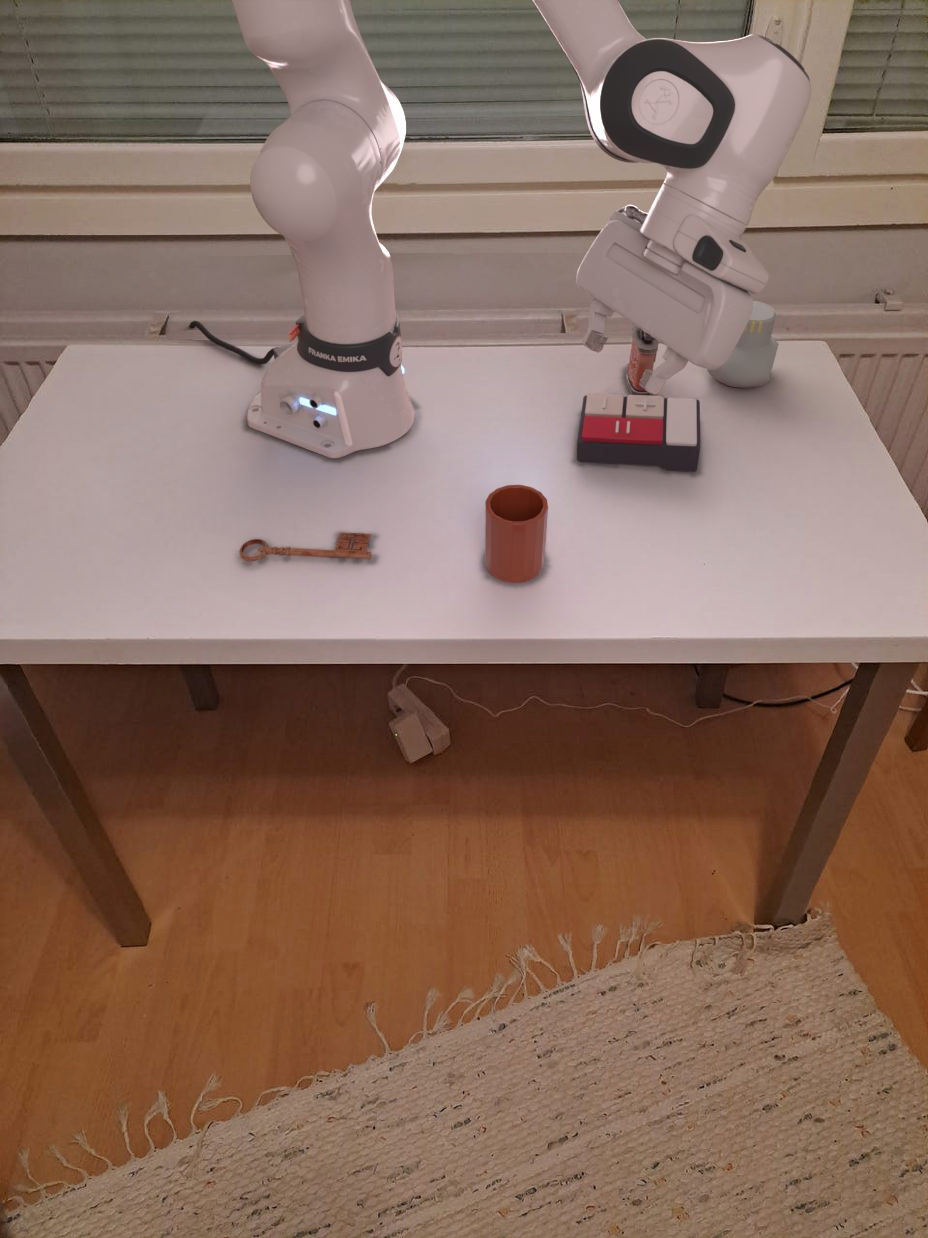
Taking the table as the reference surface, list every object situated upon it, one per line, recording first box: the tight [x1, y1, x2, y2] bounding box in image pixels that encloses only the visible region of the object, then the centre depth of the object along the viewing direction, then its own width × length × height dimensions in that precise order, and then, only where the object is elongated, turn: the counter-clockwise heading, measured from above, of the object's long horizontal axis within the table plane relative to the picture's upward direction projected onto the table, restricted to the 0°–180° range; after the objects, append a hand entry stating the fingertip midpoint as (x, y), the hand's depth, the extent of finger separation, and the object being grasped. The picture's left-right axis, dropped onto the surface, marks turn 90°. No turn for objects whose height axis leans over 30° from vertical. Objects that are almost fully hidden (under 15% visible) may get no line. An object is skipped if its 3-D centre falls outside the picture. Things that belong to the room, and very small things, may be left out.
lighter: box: [625, 323, 660, 396], centre depth 125 cm, size 8×3×10 cm, turn 179°
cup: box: [484, 484, 549, 584], centre depth 100 cm, size 7×7×8 cm
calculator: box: [576, 392, 701, 472], centre depth 117 cm, size 11×4×15 cm
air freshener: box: [707, 300, 779, 389], centre depth 125 cm, size 11×8×10 cm
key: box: [239, 531, 372, 562], centre depth 105 cm, size 6×1×15 cm
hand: (618, 368), depth 93 cm, fingers open, 8 cm apart
